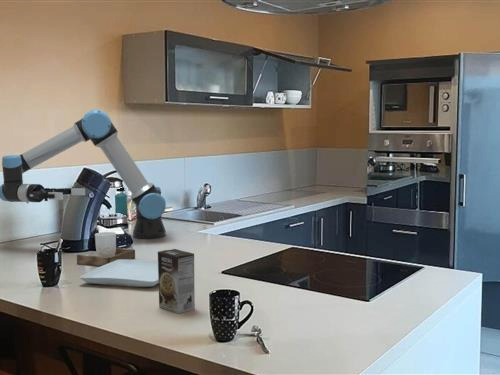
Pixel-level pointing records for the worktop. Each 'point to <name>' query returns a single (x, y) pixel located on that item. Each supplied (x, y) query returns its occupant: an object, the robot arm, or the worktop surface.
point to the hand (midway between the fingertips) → (73, 193)
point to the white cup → (105, 244)
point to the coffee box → (176, 280)
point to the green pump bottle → (121, 202)
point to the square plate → (125, 273)
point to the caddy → (106, 258)
